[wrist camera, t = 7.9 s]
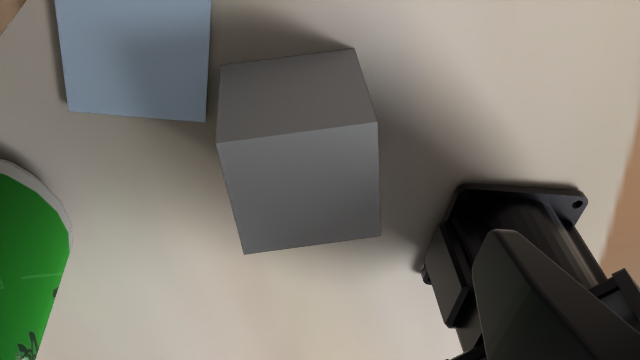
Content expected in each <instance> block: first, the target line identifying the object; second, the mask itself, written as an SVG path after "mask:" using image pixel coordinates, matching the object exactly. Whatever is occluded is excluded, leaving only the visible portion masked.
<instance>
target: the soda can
mask: <svg viewBox="0 0 640 360" xmlns="http://www.w3.org/2000/svg"><path fill="white" fill-rule="evenodd" d="M72 244H73V240H72V224H71V220H70V218H69V216H68V214H67V212H66V211H65V209H64V207H63V205H62V203H61V201H60V200H59V199H58V198H57V197H56V196H55V195H54V194H53V193H52V192H51V191H50V190H49V189H48V188H47V187H46V186H45V185H44V184H43V183H42V182H41V181H39V180H38V179H37V178H36V177H35V176H34V175H33V174H31V173H30V172H28V171H26V170H25V169H23V168H21V167H20V166H18V165H16V164H14V163H13V162H10V161H7V160H4V159H1V158H0V360H35V359H36V356H37V353H38V350H39V346H40V343H41V340H42V337H43V334H44V331H45V328H46V325H47V322H48V318H49V315H50V312H51V309H52V306H53V303H54V300H55V297H56V294H57V290H58V287H59V284H60V281H61V278H62V275H63V272H64V269H65V266H66V262H67V259H68V256H69V253H70V250H71V247H72Z"/></svg>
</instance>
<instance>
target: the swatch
mask: <svg viewBox="0 0 640 360" xmlns="http://www.w3.org/2000/svg"><path fill="white" fill-rule="evenodd" d="M54 1H55V9H56V17H57V25H58V33H59V41H60V48H61V56H62V64H63V72H64V80H65V88H66V96H67V104H68V111H71V112H83V113H95V114H107V115H120V116H132V117H144V118H156V119H168V120H181V121H193V122H205V119H206V102H207V82H208V61H209V41H210V21H211V1H212V0H54Z"/></svg>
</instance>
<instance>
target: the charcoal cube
mask: <svg viewBox="0 0 640 360" xmlns="http://www.w3.org/2000/svg"><path fill="white" fill-rule="evenodd" d="M215 144H216V148H217V152H218V156H219V160H220V164H221V167H222V171H223V175H224V179H225V183H226V187H227V191H228V194H229V198H230V202H231V206H232V210H233V214H234V218H235V222H236V225H237V229H238V233H239V237H240V241H241V245H242V249H243V252H244V255H245V254H252V253H260V252H267V251H275V250H282V249H289V248H297V247H304V246H311V245H319V244H326V243H333V242H341V241H348V240H355V239H363V238H370V237H377V236H381V213H380V182H379V150H378V122H377V118H376V115H375V112H374V109H373V106H372V103H371V99H370V96H369V93H368V90H367V87H366V84H365V80H364V77H363V74H362V71H361V68H360V65H359V61H358V58H357V55H356V52H355V49H354V48H352V49H344V50H337V51H329V52H321V53H314V54H306V55H298V56H290V57H283V58H275V59H267V60H259V61H252V62H244V63H236V64H228V65H221V68H220V82H219V97H218V112H217V126H216V141H215Z"/></svg>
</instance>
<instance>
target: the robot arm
mask: <svg viewBox="0 0 640 360" xmlns="http://www.w3.org/2000/svg"><path fill="white" fill-rule="evenodd" d="M466 193H469V194H468V195H466V196H463V195H465V194H466ZM587 204H588V199H587V198H586V196H585V195H584V193H583V192H581V191H574V190H559V189H545V188H530V187H516V186H501V185H487V184H472V183H466V184H462V185H460V186H458V187H457V188H456V190H455V191H454V194H453V196H452V199H451V201H450V204H449V206H448V209H447V211H446V213H445V216H444V218H443V221H442V222H441V223H440V224H439V225H438V226H437V229H436V231H435V234H434V236H433V239H432V241H431V244H430V246H429V248H428V251H427V253H426V256H425V258H424V261H425V265H424V267H423V270H422V273H421V275H422V278H423V281H424V283H426V284H429V285H432V287H433V290H434V293H435V296H436V299H437V302H438V305H439V309H440V312H441V315H442V318H443V321H444V323H445V325H446V326H447V327H448V328H455V329H456V332H457V335H458V338H459V341H460V344H461V347H462V350H463V353H462V354H460V355H458V356H456V357H455V358H453V359H451V360H640V288H639V286H638V285H637V284H636V282H635V281H634V280H633V278H632V277H631V276H630V274H629V273H628V272H627V270H626V269H625V268H623V269H621V270H619V271H617V272H615V273H613V274H612V276H613V277H611V278H609V279H607V277H606V276H605V274H604V273H603V271H602V269H601V268H600V266H599V265H598V263H597V261H596V260H595V258H594V257H593V255H592V253H591V252H590V250H589V249H588V247H587V245H586V244H585V242H584V241H583V239H582V237H581V236H580V234H579V233H578V231H577V229H576V228H575V224H576V222H577V221H578V219H579V218H580V216H581V214H582V213H583V211H584V209H585V208H586V206H587ZM446 360H448V359H446Z"/></svg>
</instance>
